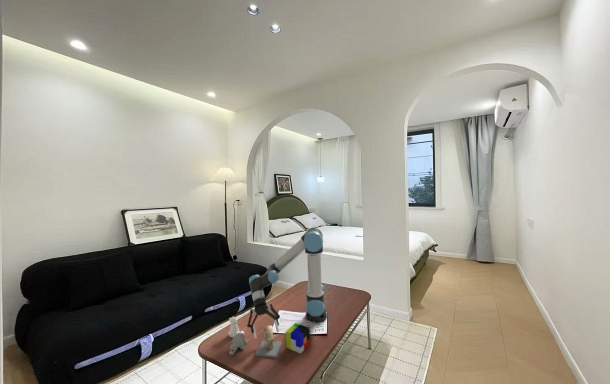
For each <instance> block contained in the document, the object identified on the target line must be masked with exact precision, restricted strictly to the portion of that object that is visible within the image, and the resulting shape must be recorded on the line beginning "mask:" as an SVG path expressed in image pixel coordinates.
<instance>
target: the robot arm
mask: <svg viewBox="0 0 610 384" xmlns="http://www.w3.org/2000/svg"><path fill="white" fill-rule="evenodd" d="M323 236H324V235H323V232H322V231H321V230H320V229H319V228H316V227H310V228H308V229H307V231H306V232H305V233H303V235H301V237H300V240H298V241H297V242H296V243H295V244H294V245H292V246H291V247H289V249H288V250H287V251H286V252H285V253H283V254H282V255H281V256H280V257H279V258H278V259H277V260H276V261H274V262H273V263H271V264H270V265H269V266H268V268H267V270H266V272H265V273H264V274H263V275H259V274H254V275H251V276H250V277H249V278H248V283H249V286H250V288H249V289H250V292H251V297H252V302H253V308H254V309H253V308H251V309H250V310H249V317H248V320H247V321H248V322H247V326H246V328H249V329H250V331H251V334H253V338H254V340H256V339H257V332H256V328H255V325H254V324H255V322H256V320H257V319H258V316H262V315H268V316H269V317H270V318H272V319H273V320H274V326H275V327H274V328H275V330H276V333H279V332H280V330H279V325H280V323H279V320H280V318H281V316H280V314H279V313H278V312H277V310H276V309H275V308H274V306H273V305H272V303H270V304H269V305H267V300H266V298H265V297H266V295H265V293H264V288H266V287H268V286H270V285H273V284H275V283H276V282H278V281H280V278H279V277H280V276H279V273H280V272H282V271H283V270H284V269H285V268H286V267H287V266H288V265H289V264H291V263H292V262H293V261H295V260H296V259H297V257H299V256H300V255H301V254H303V253H305V254H306V256H307V257H306V258H307V259H306V260H307V261H306V262H307V283H308V284H307V289H306V290H307V291H306V292H305V297H306V300H305V303H306V304H305V308H306V311H305V318H306V320H307V321H309V322H311V323H322V322H324V321H325V320H327V319H328V312H327V309H326V305H325V285H323V284H322V255H321V254H322V253H323V252H324V248H323V247H324V238H323ZM254 312H255V317H254V318H253V320H252V317H253V314H254Z"/></svg>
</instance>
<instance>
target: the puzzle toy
mask: <svg viewBox="0 0 610 384" xmlns="http://www.w3.org/2000/svg"><path fill="white" fill-rule="evenodd" d="M310 331H311V330H310V327H309V326H307V325H303V324H301V323H297V322H295V323H294V324H292V325H291V326H290V327H289V328H288V329H287V330H286V331H285V341H286V344H285V345H286V349H289V350H291V351H294V352H296V353H298V354H302V353H303V352H304V351H305V349H306V348H307V347H308V346H309V345H310V342H311V339H310V338H311V336H310V335H311V334H310Z"/></svg>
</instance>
